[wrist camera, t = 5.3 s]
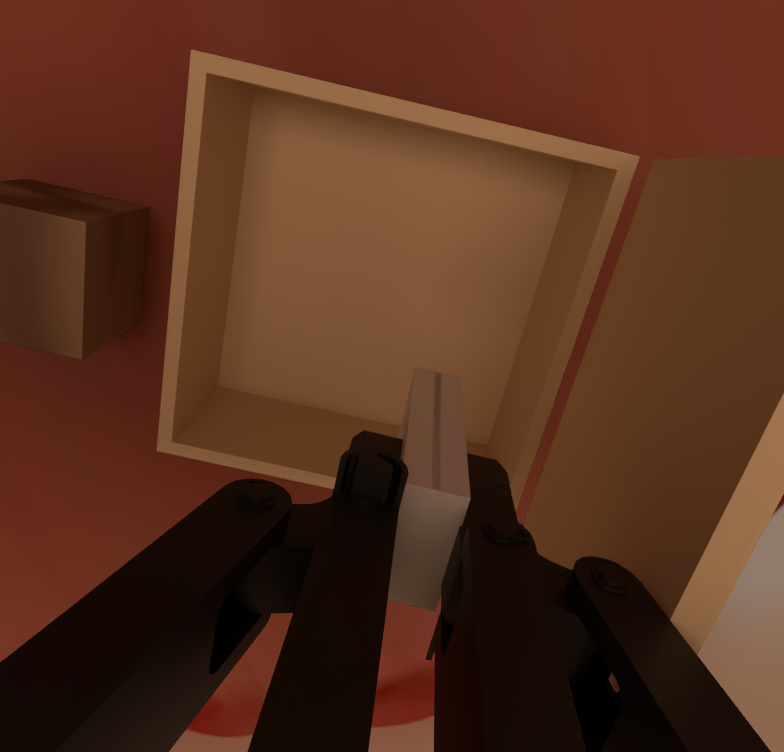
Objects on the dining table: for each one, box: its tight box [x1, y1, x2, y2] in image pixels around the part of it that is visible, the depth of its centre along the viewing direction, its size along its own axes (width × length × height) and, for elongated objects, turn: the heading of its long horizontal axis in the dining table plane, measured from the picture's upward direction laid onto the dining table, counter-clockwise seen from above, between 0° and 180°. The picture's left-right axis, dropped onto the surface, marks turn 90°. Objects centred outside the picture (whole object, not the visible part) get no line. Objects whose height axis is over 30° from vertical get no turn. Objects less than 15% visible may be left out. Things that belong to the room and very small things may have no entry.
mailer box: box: [157, 49, 640, 512], centre depth 27 cm, size 16×16×7 cm
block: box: [0, 179, 148, 360], centre depth 28 cm, size 6×6×6 cm
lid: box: [523, 156, 784, 693], centre depth 17 cm, size 15×16×1 cm
